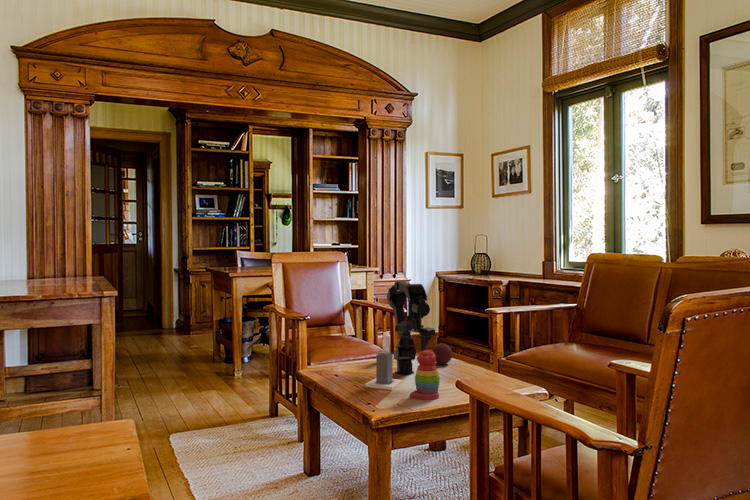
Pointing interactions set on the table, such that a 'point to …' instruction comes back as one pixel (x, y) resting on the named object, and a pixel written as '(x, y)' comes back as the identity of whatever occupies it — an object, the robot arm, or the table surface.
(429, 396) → the stacking bear
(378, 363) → the plug
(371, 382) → the socket
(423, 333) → the robot arm
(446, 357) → the decorative ball
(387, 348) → the figurine
